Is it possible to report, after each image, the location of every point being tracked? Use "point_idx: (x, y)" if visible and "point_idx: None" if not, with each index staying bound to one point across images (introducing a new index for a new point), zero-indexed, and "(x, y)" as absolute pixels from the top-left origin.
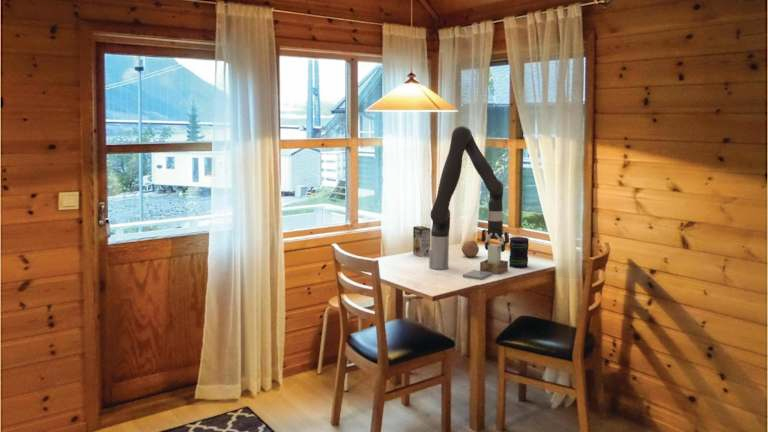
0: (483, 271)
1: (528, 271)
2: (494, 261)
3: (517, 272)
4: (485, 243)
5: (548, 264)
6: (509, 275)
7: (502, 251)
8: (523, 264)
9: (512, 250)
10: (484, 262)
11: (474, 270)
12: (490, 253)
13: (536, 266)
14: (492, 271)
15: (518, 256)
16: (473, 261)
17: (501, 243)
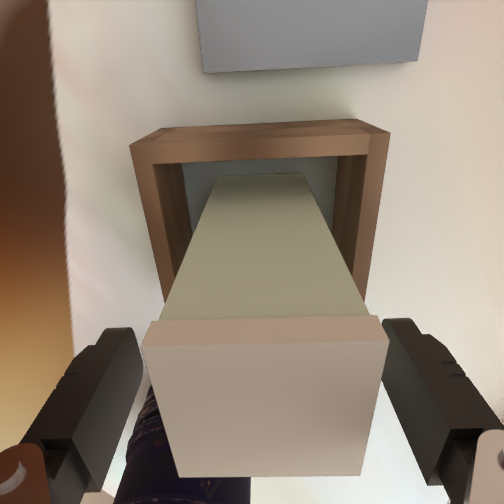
0: (299, 58)
1: (76, 336)
2: (229, 211)
3: (106, 279)
4: (488, 424)
5: (111, 479)
6: (81, 159)
7: (106, 329)
8: (145, 402)
9: (201, 493)
10: (356, 207)
11: (405, 36)
12: (293, 253)
13: (125, 435)
14: (226, 128)
15: (154, 444)
16: (494, 372)
17: (43, 469)
